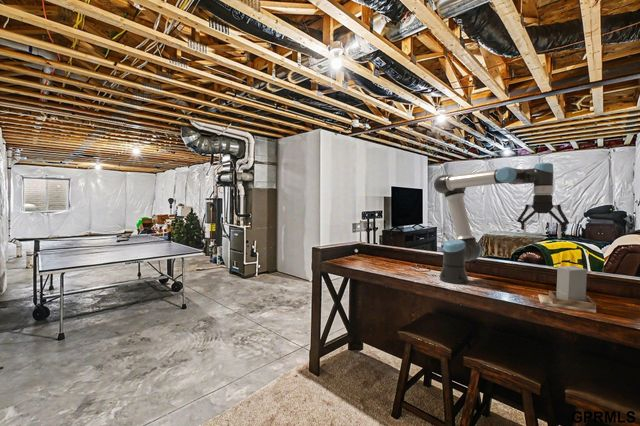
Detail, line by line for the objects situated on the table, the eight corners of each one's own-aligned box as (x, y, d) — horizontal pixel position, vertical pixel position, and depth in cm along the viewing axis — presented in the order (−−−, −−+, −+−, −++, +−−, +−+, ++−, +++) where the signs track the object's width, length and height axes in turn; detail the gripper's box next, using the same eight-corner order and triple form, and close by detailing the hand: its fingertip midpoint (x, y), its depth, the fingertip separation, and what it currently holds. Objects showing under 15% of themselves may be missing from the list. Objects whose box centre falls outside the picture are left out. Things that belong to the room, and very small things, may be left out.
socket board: (541, 304, 128) (541, 296, 127) (538, 296, 138) (538, 289, 138) (595, 312, 118) (596, 304, 118) (588, 303, 129) (588, 295, 129)
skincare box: (572, 299, 131) (573, 265, 130) (587, 305, 124) (588, 269, 123) (554, 299, 130) (555, 265, 130) (568, 305, 123) (569, 269, 123)
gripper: (512, 194, 145) (511, 236, 145) (577, 194, 131) (576, 240, 132) (512, 195, 151) (511, 235, 152) (574, 194, 137) (572, 238, 138)
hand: (541, 237), depth 142 cm, fingers open, 13 cm apart
